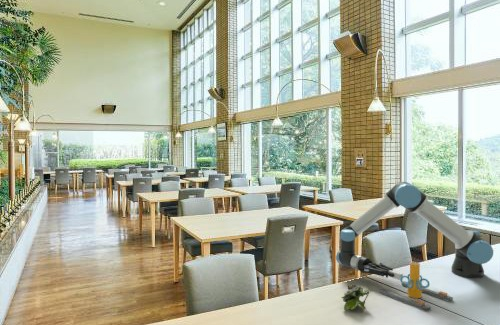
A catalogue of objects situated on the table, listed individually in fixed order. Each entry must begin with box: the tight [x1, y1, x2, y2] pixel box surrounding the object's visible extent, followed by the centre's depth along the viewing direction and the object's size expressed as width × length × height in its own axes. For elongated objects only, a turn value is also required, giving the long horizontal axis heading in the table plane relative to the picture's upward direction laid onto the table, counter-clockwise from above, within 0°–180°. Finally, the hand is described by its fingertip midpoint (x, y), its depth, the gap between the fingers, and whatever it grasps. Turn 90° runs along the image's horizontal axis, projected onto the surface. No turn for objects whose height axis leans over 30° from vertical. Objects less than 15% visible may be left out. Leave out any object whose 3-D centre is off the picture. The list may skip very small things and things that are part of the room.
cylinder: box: [399, 261, 430, 299], centre depth 169 cm, size 12×10×15 cm
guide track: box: [379, 280, 454, 312], centre depth 168 cm, size 24×19×2 cm
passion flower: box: [341, 284, 370, 311], centre depth 157 cm, size 11×11×12 cm
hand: (401, 276), depth 173 cm, fingers closed
